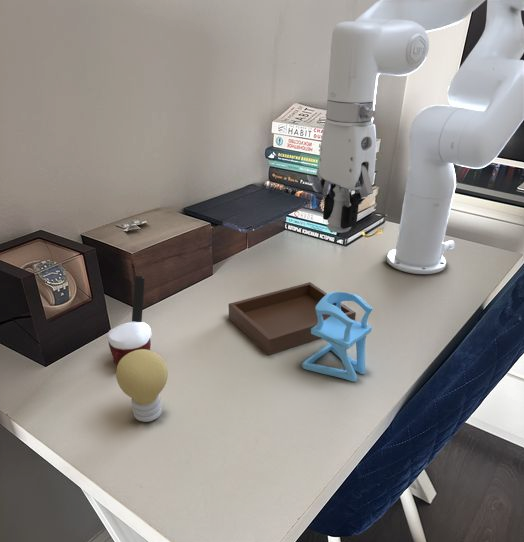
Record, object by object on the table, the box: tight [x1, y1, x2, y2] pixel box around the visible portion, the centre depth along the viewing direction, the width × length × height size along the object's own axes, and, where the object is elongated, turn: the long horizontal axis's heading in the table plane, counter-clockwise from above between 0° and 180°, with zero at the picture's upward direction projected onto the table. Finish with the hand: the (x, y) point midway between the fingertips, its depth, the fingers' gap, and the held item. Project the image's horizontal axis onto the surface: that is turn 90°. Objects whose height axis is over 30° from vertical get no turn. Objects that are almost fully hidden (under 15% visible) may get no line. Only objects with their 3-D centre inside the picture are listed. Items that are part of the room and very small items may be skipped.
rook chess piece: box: [326, 185, 352, 234], centre depth 90 cm, size 4×4×8 cm
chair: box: [302, 291, 374, 383], centre depth 75 cm, size 8×8×12 cm
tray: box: [228, 281, 357, 356], centre depth 89 cm, size 18×14×3 cm
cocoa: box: [106, 275, 153, 366], centre depth 77 cm, size 10×6×12 cm, turn 140°
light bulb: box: [115, 349, 169, 423], centre depth 66 cm, size 6×6×10 cm
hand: (339, 221), depth 92 cm, fingers closed on rook chess piece, 4 cm apart
